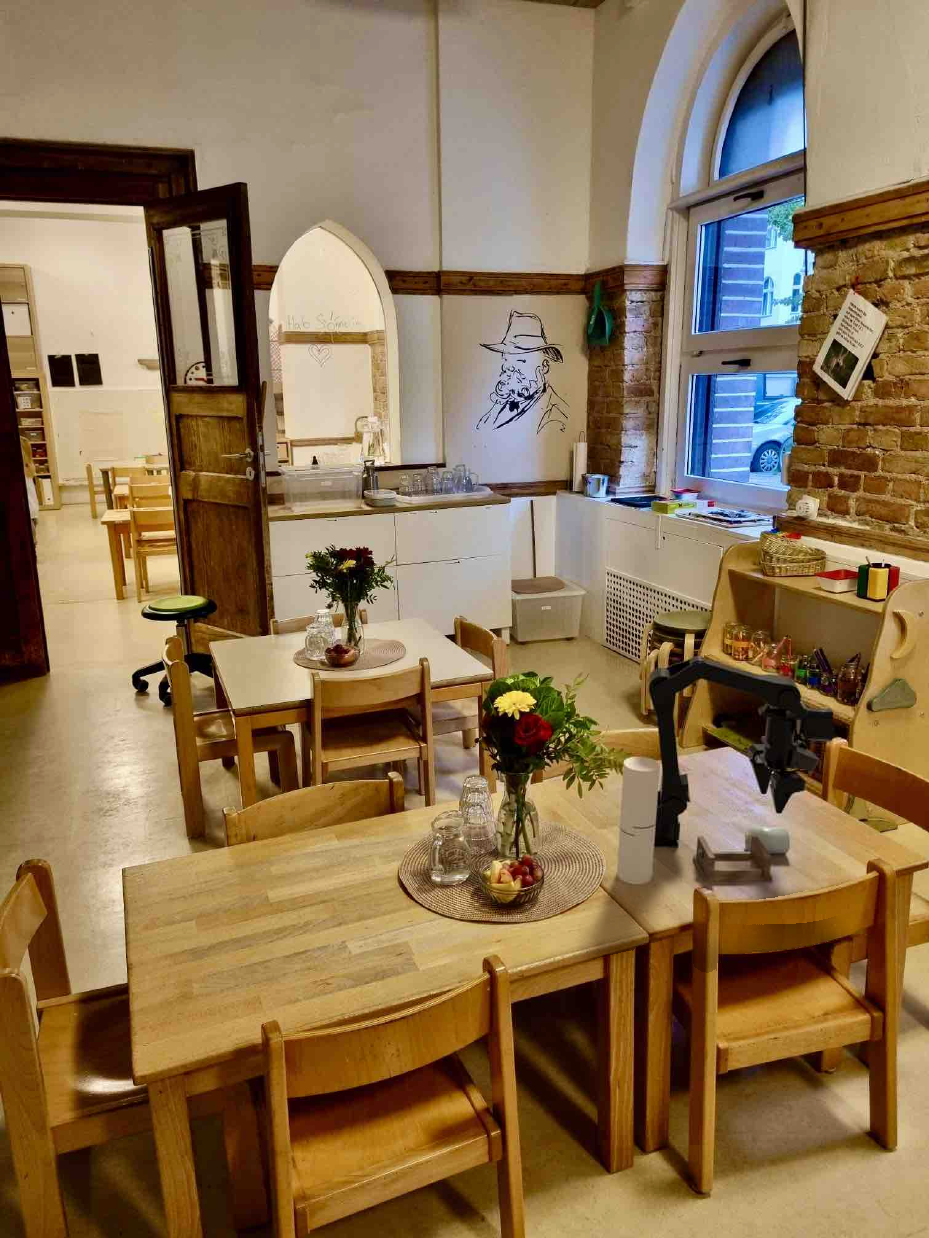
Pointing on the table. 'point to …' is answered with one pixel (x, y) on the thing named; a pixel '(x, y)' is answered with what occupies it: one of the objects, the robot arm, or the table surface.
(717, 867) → the holder
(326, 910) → the table surface
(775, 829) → the roll
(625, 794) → the cylindrical container
